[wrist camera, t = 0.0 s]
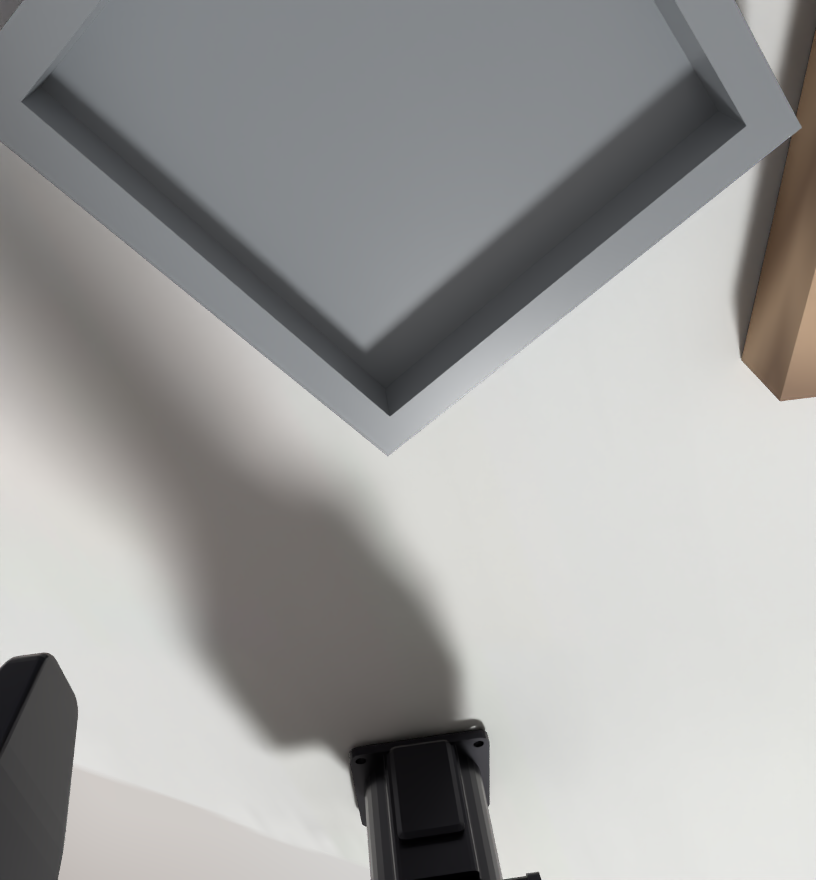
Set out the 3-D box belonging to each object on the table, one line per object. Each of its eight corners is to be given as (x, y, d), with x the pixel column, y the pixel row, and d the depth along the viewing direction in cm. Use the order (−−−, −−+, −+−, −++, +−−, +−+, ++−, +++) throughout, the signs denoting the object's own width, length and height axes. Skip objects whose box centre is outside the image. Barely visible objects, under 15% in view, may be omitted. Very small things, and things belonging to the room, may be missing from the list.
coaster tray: (751, 103, 20) (801, 127, 18) (380, 409, 25) (388, 456, 23) (419, -492, 13) (440, -559, 11) (-12, 75, 18) (-51, 99, 16)
